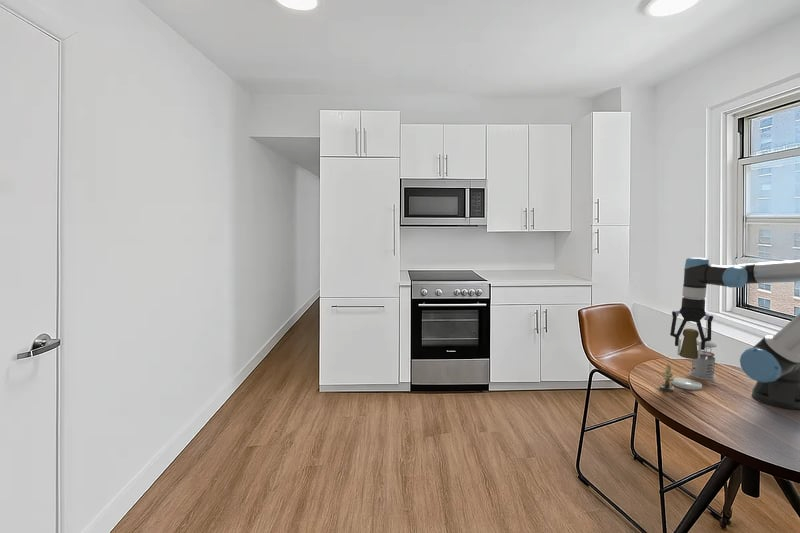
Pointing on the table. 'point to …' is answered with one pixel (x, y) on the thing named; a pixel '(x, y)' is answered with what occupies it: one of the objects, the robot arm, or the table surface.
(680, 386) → the dish
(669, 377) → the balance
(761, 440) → the table surface
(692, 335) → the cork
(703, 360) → the french press
